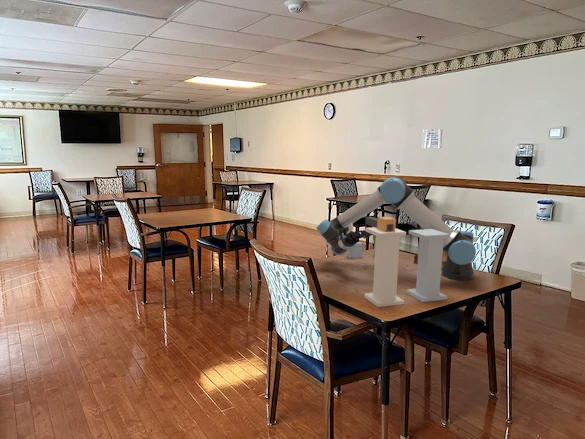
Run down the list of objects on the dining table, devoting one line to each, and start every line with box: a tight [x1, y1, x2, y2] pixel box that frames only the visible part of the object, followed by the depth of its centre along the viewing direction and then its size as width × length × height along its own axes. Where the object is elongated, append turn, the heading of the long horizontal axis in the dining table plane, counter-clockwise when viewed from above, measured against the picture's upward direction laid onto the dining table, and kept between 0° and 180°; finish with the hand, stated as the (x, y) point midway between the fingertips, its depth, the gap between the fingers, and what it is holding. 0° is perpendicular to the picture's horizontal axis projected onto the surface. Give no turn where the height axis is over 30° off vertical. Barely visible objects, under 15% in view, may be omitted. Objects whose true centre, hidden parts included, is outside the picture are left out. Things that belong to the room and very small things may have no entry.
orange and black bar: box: [365, 216, 397, 232], centre depth 182 cm, size 5×18×5 cm, turn 18°
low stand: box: [406, 229, 450, 303], centre depth 186 cm, size 12×14×28 cm
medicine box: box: [346, 241, 364, 259], centre depth 250 cm, size 8×4×9 cm, turn 104°
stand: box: [363, 226, 407, 308], centre depth 179 cm, size 12×14×30 cm
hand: (366, 225), depth 193 cm, fingers open, 13 cm apart
